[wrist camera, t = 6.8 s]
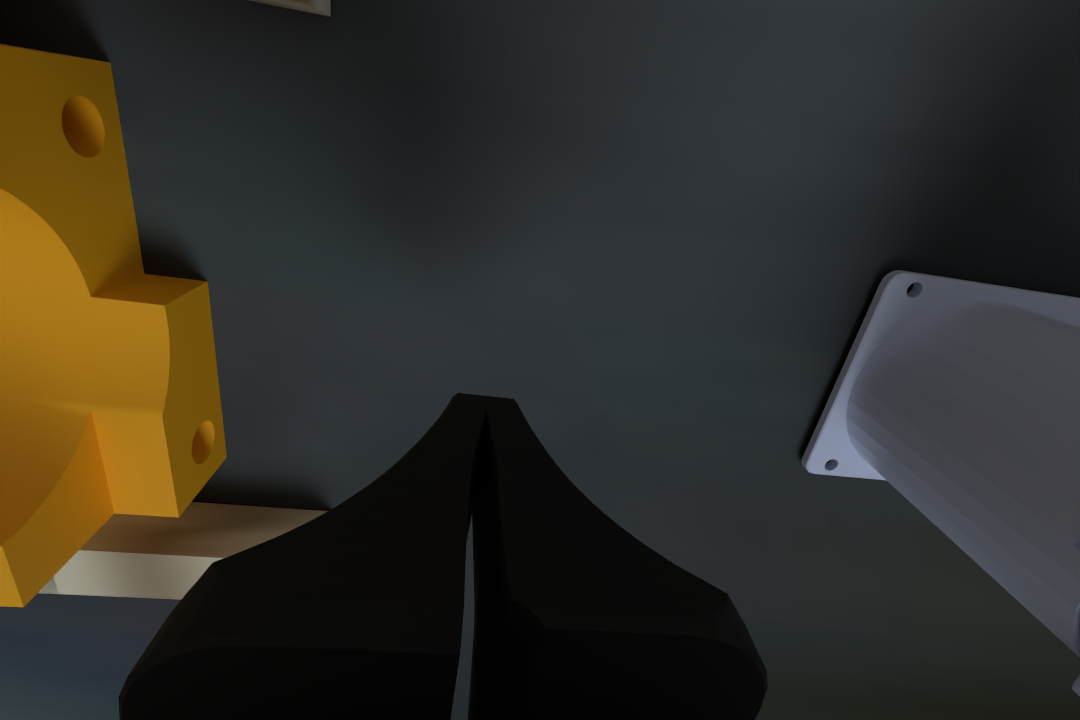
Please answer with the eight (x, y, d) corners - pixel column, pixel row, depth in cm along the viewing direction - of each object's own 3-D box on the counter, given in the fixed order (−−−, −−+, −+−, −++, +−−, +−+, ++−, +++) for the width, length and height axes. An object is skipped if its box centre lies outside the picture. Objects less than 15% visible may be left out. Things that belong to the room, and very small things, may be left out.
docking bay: (330, -83, 12) (292, -130, 10) (333, 551, 20) (313, 605, 18) (-166, -193, 11) (-341, -276, 9) (50, 534, 19) (-10, 590, 17)
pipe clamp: (229, 454, 18) (104, 610, 12) (95, 443, 18) (-102, 602, 12) (189, 76, 13) (-47, 40, 8) (2, 43, 13) (-409, -22, 7)
